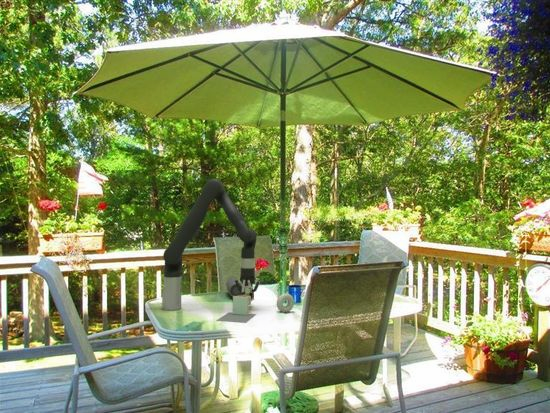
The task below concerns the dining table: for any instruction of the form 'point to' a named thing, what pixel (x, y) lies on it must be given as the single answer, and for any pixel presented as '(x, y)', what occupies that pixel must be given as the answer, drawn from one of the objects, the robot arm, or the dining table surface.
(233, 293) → the bluetooth speaker
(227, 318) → the mat
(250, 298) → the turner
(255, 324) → the dining table surface
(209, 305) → the dining table surface
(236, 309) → the tile
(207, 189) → the robot arm
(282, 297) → the donut
